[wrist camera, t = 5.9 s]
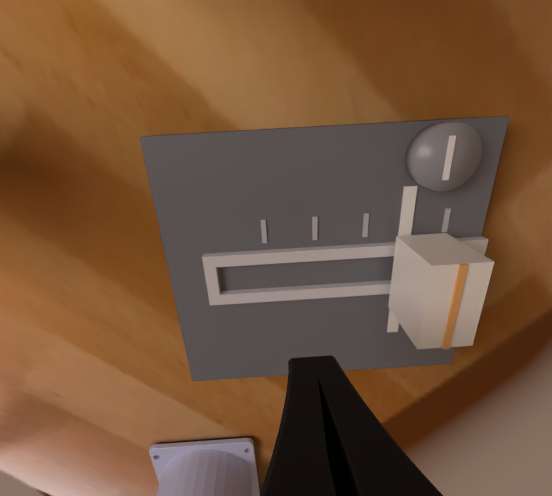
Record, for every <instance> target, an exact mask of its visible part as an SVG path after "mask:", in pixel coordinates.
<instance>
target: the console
mask: <svg viewBox="0 0 552 496" xmlns="http://www.w3.org/2000/svg"><path fill="white" fill-rule="evenodd" d="M508 120H509V116H500V117H473V118H455V119H437V120H419V121H401V122H383V123H365V124H347V125H329V126H311V127H294V128H276V129H258V130H240V131H222V132H204V133H186V134H168V135H152V136H142V137H140V141H141V146H142V150H143V155H144V159H145V164H146V169H147V173H148V178H149V183H150V187H151V192H152V196H153V201H154V206H155V210H156V215H157V219H158V224H159V229H160V233H161V238H162V243H163V247H164V252H165V256H166V261H167V266H168V270H169V275H170V280H171V284H172V289H173V293H174V298H175V303H176V307H177V312H178V317H179V321H180V326H181V330H182V335H183V340H184V344H185V349H186V354H187V358H188V363H189V367H190V372H191V377H192V381H203V380H218V379H232V378H247V377H261V376H276V375H288V361H289V360H290V359H291V358H300V357H314V356H329V355H332V356H333V357H335V358H336V360H337V362H338V363H339V365H340V367H341V368H342V370H343V371H348V370H363V369H377V368H392V367H406V366H421V365H435V364H450V363H452V359H453V355H454V350H455V347H450V349H442V348H430V349H417V348H416V347H415V345H414V344H413V342H412V341H411V340H410V338H409V337H408V335H407V334H406V332H405V331H404V329H403V328H402V326H401V325H400V323H399V322H398V320H397V319H396V318H395V316H394V315H393V313H392V312H391V310H390V309H389V307H388V304H389V295H390V287H391V278H392V269H393V260H394V252H395V243H396V236H405V235H421V234H437V233H447V234H449V235H450V236H452V237H454V238H455V239H457V240H459V241H460V242H462V243H464V244H466V245H467V246H469V247H471V248H472V249H474V250H476V251H477V252H479V253H481V254H482V255H484V256H485V252H486V248H487V244H488V240H489V239H487V238H485V237H481V235H482V231H483V227H484V222H485V218H486V214H487V210H488V205H489V201H490V197H491V193H492V188H493V184H494V180H495V176H496V171H497V167H498V163H499V159H500V154H501V150H502V146H503V142H504V137H505V133H506V129H507V125H508Z"/></svg>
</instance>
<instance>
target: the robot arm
mask: <svg viewBox="0 0 552 496" xmlns="http://www.w3.org/2000/svg"><path fill="white" fill-rule="evenodd" d="M149 454H150V457H151V460H152V463H153V466H154V469H155V472H156V475H157V478H158V481H159V487H158V491H157V494H156V496H443V495H442V494H441V493H440V492H439V491H438V490H437V489H436V488H435V487H434V485H433V484H432V483H431V482H430V481H429V480H428V479H427V478H426V477H425V476H424V475H423V473H421V471H420V470H419V469H418V468H417V467H416V466H415V464H414V463H413V462H412V461H411V460H410V459H409V457H408V456H407V455H406V454H405V453H404V452H403V450H402V449H401V448H400V447H399V446H398V444H397V443H396V442H395V441H394V440H393V438H392V437H391V436H390V435H389V433H388V432H387V431H386V430H385V429H384V427H383V426H382V425H381V423H380V422H379V421H378V419H377V418H376V417H375V416H374V414H373V413H372V412H371V410H370V409H369V408H368V406H367V405H366V404H365V402H364V401H363V400H362V398H361V397H360V395H359V394H358V393H357V391H356V390H355V388H354V387H353V385H352V384H351V382H350V381H349V379H348V378H347V376H346V375H345V373H344V372H343V370H342V368H341V367H340V365H339V363H338V362H337V360H336V358H335V357H333V356H332V355H329V356H314V357H300V358H291V359H290V360H289V361H288V385H287V392H286V399H285V404H284V409H283V414H282V419H281V424H280V428H279V432H278V436H277V439H276V443H275V447H274V450H273V454H272V458H271V461H270V465H269V468H268V471H267V475H266V478H265V481H264V484H263V487H262V490H261V493H260V490H259V482H258V473H257V465H256V457H255V449H254V441H253V440H252V439H251V438H235V439H222V440H208V441H194V442H180V443H166V444H155V445H152V446H151V447H150V450H149Z"/></svg>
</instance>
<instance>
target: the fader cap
mask: <svg viewBox="0 0 552 496" xmlns="http://www.w3.org/2000/svg"><path fill="white" fill-rule="evenodd" d="M493 266H494V261H492V260H491V259H489V258H487V257H486V256H484V255H482V254H481V253H479V252H477V251H476V250H474V249H472V248H471V247H469V246H467V245H466V244H464V243H462V242H460V241H459V240H457V239H455V238H454V237H452V236H450V235H449V234H447V233H437V234H421V235H405V236H396V243H395V252H394V260H393V269H392V278H391V287H390V295H389V304H388V307H389V309H390V310H391V312H392V313H393V315H394V316H395V318H396V319H397V320H398V322H399V323H400V325H401V326H402V328H403V329H404V331H405V332H406V334H407V335H408V337H409V338H410V340H411V341H412V342H413V344H414V345H415V347H416V348H417V349H430V348H442V349H450V347H459V346H472V345H473V342H474V338H475V334H476V330H477V326H478V323H479V319H480V315H481V311H482V307H483V304H484V300H485V296H486V292H487V288H488V285H489V281H490V277H491V273H492V269H493Z"/></svg>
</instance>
